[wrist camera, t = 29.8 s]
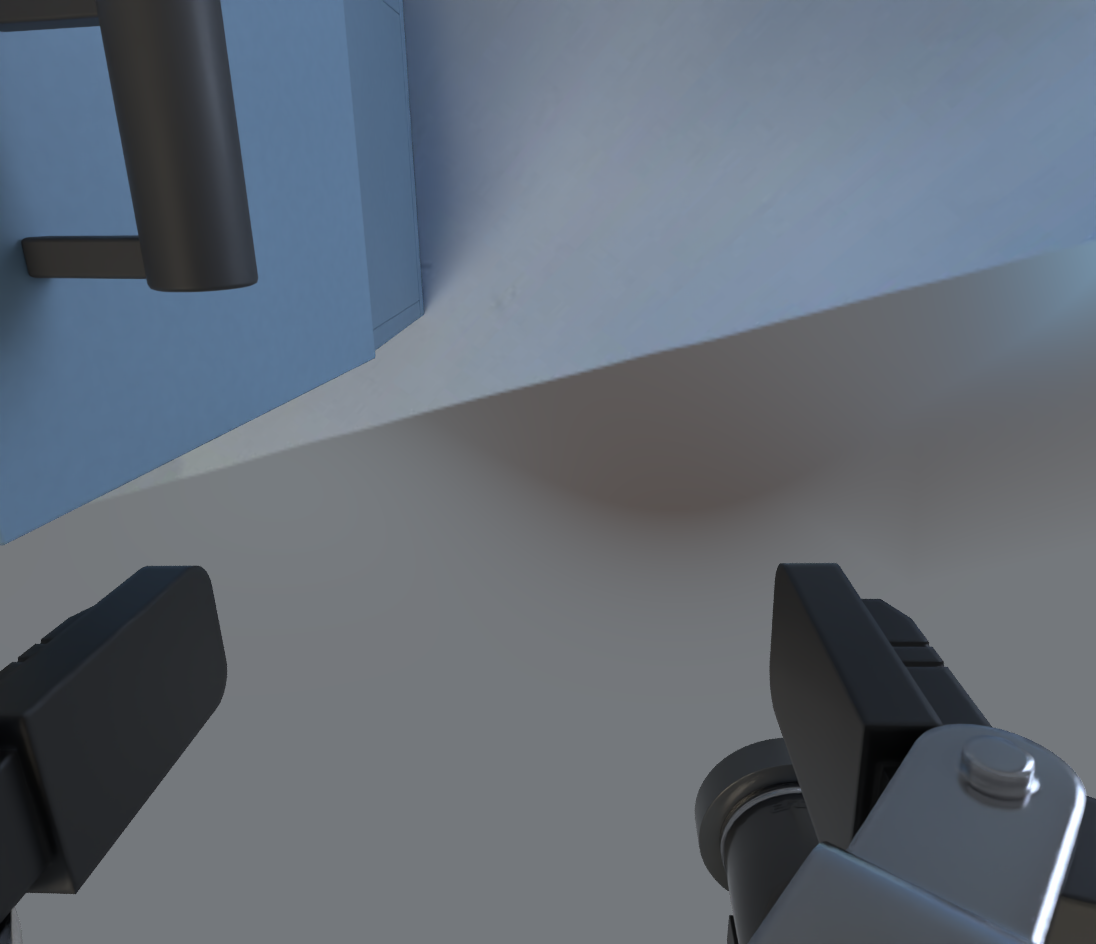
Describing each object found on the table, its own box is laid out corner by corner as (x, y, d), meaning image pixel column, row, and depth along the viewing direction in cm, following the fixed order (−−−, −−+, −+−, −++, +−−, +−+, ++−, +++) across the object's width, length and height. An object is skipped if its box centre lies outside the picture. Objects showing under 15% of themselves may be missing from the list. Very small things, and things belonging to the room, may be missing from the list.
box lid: (-35, 544, 14) (216, 566, 13) (-338, -486, 9) (15, -569, 8) (356, 357, 29) (486, 361, 28) (313, -76, 25) (467, -89, 24)
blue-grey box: (117, 316, 40) (-28, 356, 31) (56, 8, 35) (-138, -55, 26) (424, 314, 39) (369, 355, 30) (402, -3, 34) (330, -72, 25)
